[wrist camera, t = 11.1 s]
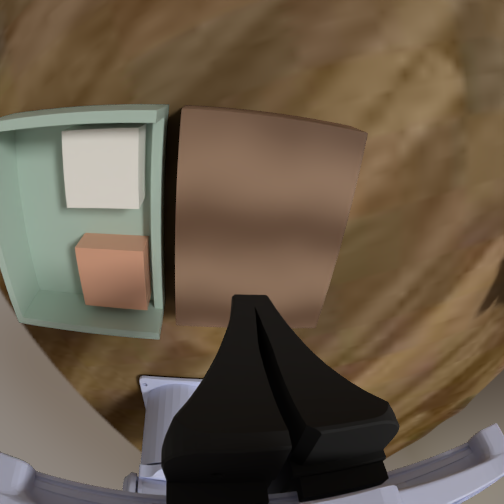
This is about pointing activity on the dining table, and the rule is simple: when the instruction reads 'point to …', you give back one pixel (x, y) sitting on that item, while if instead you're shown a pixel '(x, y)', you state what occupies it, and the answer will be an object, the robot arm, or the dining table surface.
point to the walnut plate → (260, 211)
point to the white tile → (105, 165)
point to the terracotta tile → (115, 270)
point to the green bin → (73, 221)
